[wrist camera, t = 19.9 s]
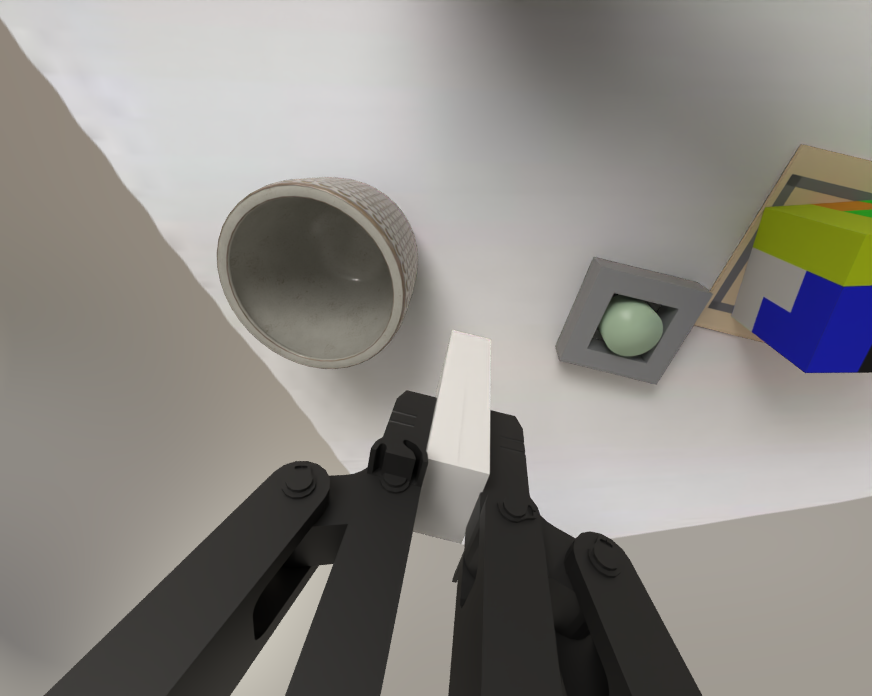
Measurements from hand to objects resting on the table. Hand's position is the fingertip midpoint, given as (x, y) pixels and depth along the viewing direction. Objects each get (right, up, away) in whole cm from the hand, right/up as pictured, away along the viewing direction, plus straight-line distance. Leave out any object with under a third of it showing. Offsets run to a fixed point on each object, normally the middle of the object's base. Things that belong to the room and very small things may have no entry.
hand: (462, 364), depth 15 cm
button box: (+18, +4, +23) cm, 30 cm away
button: (+18, +4, +23) cm, 29 cm away
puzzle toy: (+32, +8, +19) cm, 38 cm away
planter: (-8, +11, +23) cm, 27 cm away
